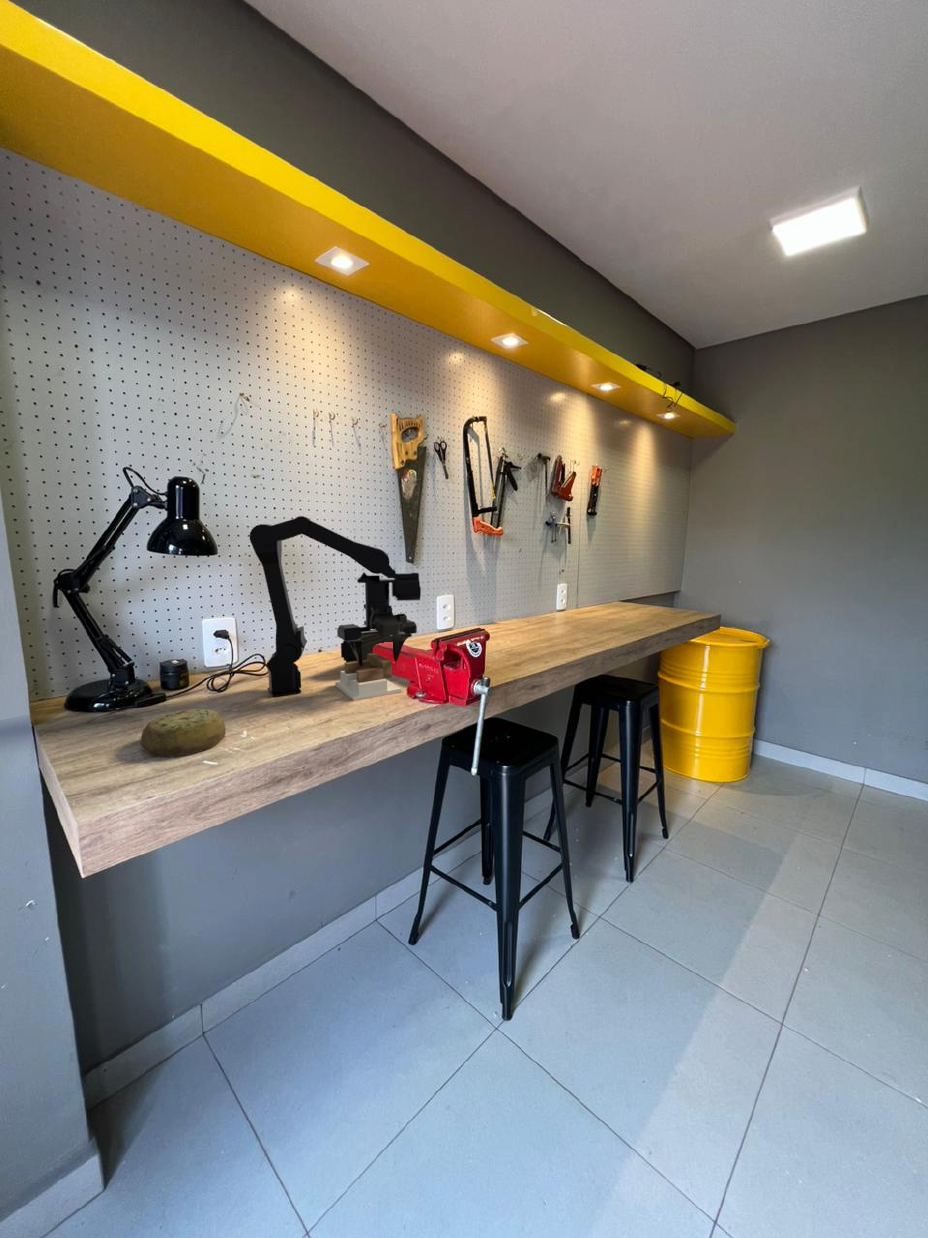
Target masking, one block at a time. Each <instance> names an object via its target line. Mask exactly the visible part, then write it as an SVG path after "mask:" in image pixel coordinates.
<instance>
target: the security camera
mask: <svg viewBox="0 0 928 1238" xmlns="http://www.w3.org/2000/svg"><path fill="white" fill-rule="evenodd" d="M360 640H362V641H363V642H362V645H361V648H362V659H363V660H367V654H370V653H373V652H372V651H373V647H374V645H376V644H379V643H384V642H393V639H392V635H391V636H387V637H382V636H380V635H379V633H374V634H364V635H361V637H360ZM340 657H341V658H343V661H344V662H353V661H357V659H356V657H355V654H354V652H353V650H352V648H351V646H350V644H349V643H348V642H347V641H345V640H342V642H341V643H340Z"/></svg>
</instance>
